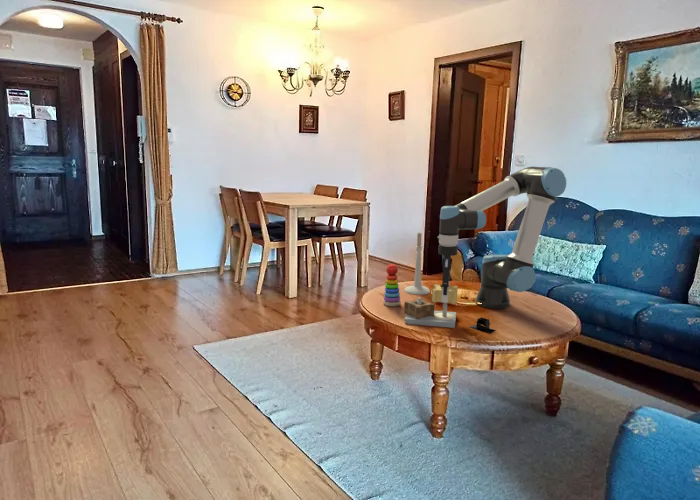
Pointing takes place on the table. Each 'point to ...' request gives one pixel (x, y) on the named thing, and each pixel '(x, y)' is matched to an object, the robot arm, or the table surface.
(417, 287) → the candlestick
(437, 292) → the ochre cog
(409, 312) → the walnut cog
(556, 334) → the table surface
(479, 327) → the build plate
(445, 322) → the board
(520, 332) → the table surface
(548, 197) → the robot arm
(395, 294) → the stacking toy
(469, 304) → the table surface
